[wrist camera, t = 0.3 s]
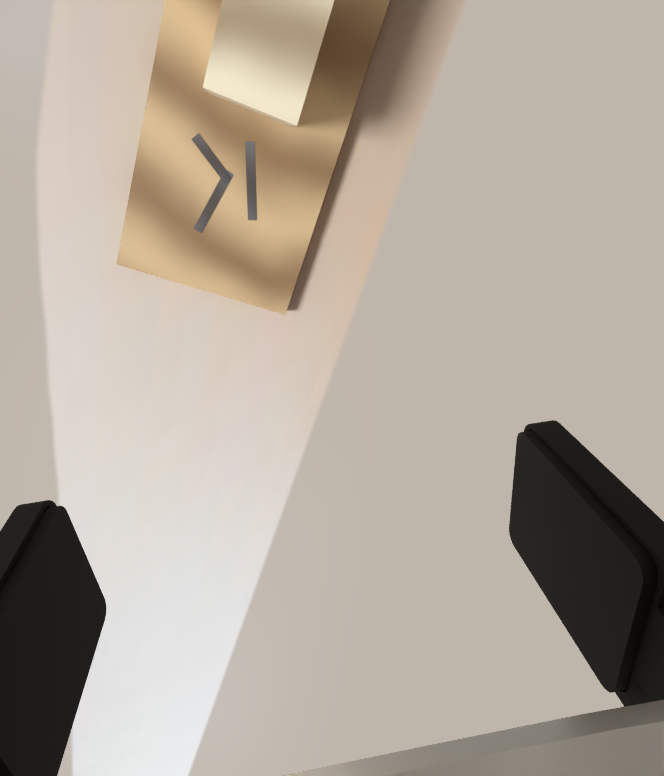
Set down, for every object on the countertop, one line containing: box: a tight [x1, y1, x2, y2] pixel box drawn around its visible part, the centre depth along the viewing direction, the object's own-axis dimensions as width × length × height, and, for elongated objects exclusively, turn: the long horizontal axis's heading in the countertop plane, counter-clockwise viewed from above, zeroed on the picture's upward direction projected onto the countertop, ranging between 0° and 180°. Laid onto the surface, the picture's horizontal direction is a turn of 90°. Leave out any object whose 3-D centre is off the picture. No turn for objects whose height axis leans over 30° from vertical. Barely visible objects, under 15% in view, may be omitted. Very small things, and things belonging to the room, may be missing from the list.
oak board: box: [117, 0, 390, 315], centre depth 32 cm, size 22×12×1 cm, turn 160°
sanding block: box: [203, 0, 334, 126], centre depth 27 cm, size 8×5×6 cm, turn 160°
